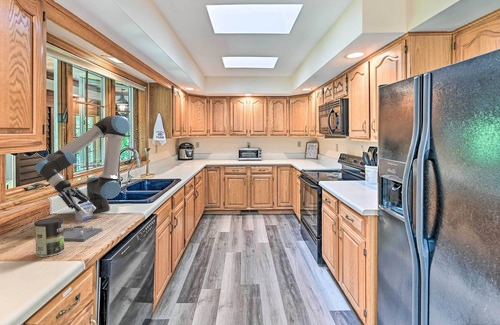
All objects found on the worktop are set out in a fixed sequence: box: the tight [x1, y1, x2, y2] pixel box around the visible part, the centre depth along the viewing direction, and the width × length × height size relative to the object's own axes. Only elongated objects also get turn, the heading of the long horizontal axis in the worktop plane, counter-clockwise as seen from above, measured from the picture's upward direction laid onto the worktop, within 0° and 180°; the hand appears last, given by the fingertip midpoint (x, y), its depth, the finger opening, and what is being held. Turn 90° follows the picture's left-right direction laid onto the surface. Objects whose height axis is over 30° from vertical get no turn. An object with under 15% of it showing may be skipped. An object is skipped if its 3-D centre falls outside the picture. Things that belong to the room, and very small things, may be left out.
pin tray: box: [63, 224, 104, 242], centre depth 148 cm, size 16×18×4 cm
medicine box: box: [74, 202, 94, 222], centre depth 162 cm, size 8×4×9 cm, turn 169°
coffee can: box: [33, 217, 65, 258], centre depth 125 cm, size 10×10×14 cm
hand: (89, 212), depth 162 cm, fingers closed on medicine box, 8 cm apart
